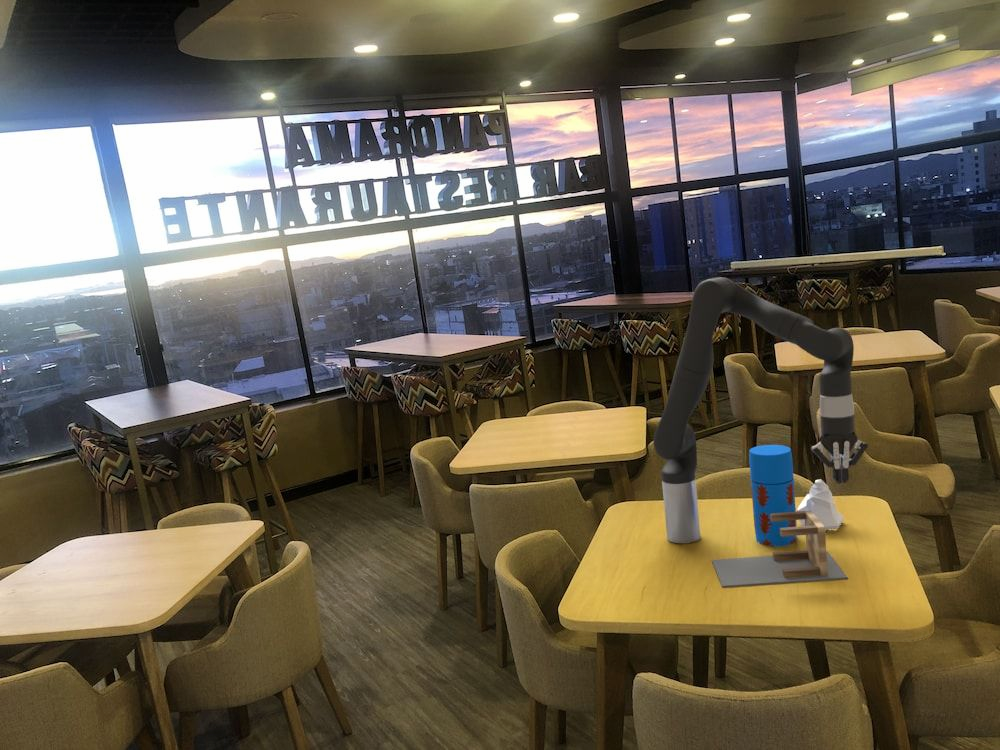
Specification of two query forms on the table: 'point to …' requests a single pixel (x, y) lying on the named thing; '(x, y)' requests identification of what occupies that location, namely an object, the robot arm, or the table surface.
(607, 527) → the table surface
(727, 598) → the table surface
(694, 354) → the robot arm
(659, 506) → the table surface
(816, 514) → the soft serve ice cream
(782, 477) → the thermos
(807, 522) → the stool
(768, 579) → the mat
